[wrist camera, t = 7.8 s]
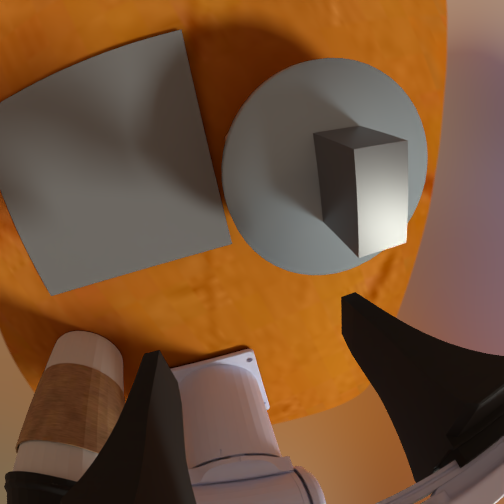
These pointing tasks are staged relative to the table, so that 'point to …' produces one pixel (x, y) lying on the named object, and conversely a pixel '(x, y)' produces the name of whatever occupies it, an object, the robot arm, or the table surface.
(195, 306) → the table surface
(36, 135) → the mat
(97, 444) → the coffee cup
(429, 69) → the table surface
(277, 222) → the lid
